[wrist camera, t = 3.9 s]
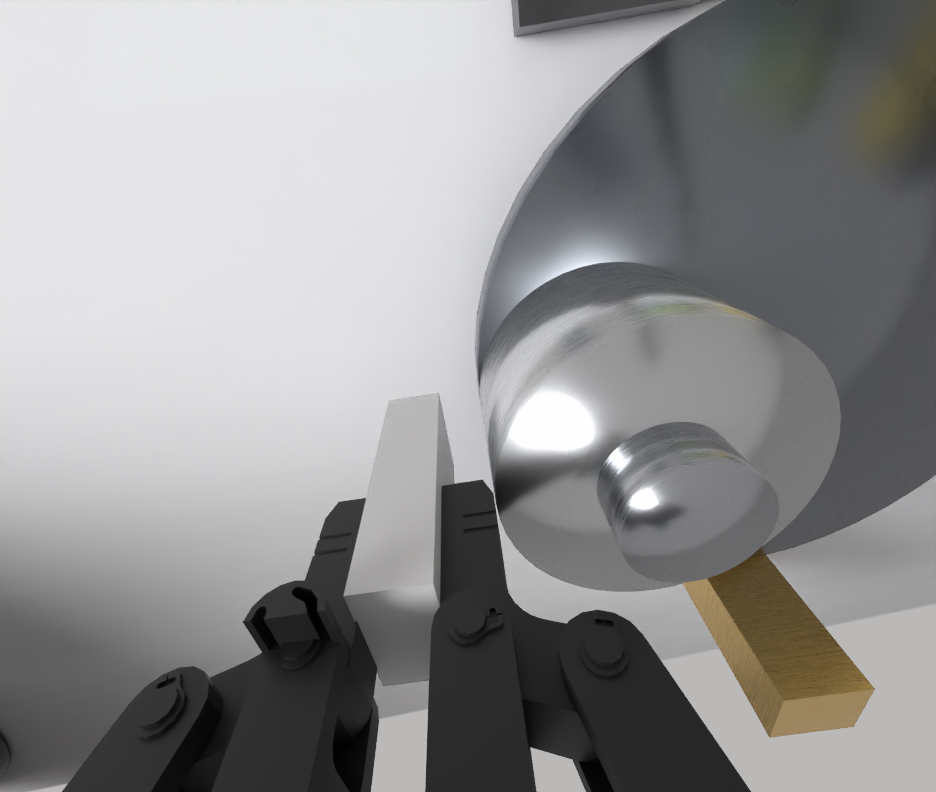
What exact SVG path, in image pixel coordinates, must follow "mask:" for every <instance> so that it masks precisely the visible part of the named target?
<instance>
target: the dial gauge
mask: <svg viewBox="0 0 936 792" xmlns="http://www.w3.org/2000/svg"><path fill="white" fill-rule="evenodd" d="M698 1H700V0H512V13H513V27H514V37H516V36H521V35H527V34H533V33H539V32H544V31H550V30H556V29H562V28H567V27H573V26H579V25H585V24H591V23H596V22H602V21H608V20H614V19H619V18H625V17H631V16H637V15H642V14H648V13H654V12H660V11H665V10H671V9H677V8H683V7H688V6H692V5H693V4H695V3H697V2H698Z"/></svg>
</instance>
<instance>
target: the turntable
mask: <svg viewBox="0 0 936 792" xmlns="http://www.w3.org/2000/svg"><path fill="white" fill-rule="evenodd" d="M607 262H633V263H639V264H644V265H649V266H652V267H655V268H658V269H661V270H664V271H666V272H668V273H670V274H672V275H674V276H676V277H678V278H680V279H682V280H684V281H686V282H688V283H690V284H692V285H694V286H696V287H698V288H700V289H702V290H704V291H706V292H708V293H709V294H711V295H713V296H715V297H717V298H719V299H721V300H723V301H725V302H727V303H729V304H731V305H733V306H735V307H737V308H739V309H741V310H743V311H745V312H747V313H749V314H751V315H753V316H755V317H757V318H759V319H761V320H763V321H765V322H767V323H769V324H771V325H773V326H775V327H777V328H779V329H780V330H782V331H784V332H786V333H788V334H790V335H791V336H793V337H795V338H797V339H798V340H800V341H801V342H802V343H803V344H805V345H806V346H807V347H808V348H809V349H811V350H812V351H813V352H814V353H815V354H816V356H817V357H818V358H819V359H820V360H821V362H822V363H823V364H824V365H825V366H826V368H827V370H828V372H829V374H830V376H831V378H832V380H833V381H834V384H835V387H836V391H837V394H838V398H839V403H840V414H841V423H840V435H839V440H838V444H837V448H836V452H835V455H834V458H833V460H832V463H831V465H830V468H829V470H828V473H827V474H826V476H825V478H824V480H823V481H822V483H821V485H820V487H819V489H818V490H817V491H816V493H815V494H814V496H813V497H812V498H811V500H810V501H809V503H808V504H807V505H806V506H805V507H804V509H803V510H802V511H801V512H800V513H799V514H798V515H797V516H796V518H795V519H794V520H793V521H792V522H791V523H790V524H788V525H787V526H786V527H785V528H784V529H783V530H782V531H781V532H780V533H779V534H777V535H776V536H775V537H774V538H772V539H771V540H770V541H768V542H767V543H766V544H765V545H763V546H762V547H760V548H759V549H758V550H757V551H756V552H755V553H754V554H753V555H751V556H750V557H749V558H748V559H746V560H745V561H743V562H742V563H740V564H739V565H737V566H735V567H733V568H732V569H730V570H728V571H725V572H723V573H721V574H718V575H716V576H713V577H710V578H706V579H702V580H698V581H692V582H686V583H683V585H684V586H685V588H686V590H687V592H688V593H689V595H690V597H691V599H692V601H693V602H694V604H695V606H696V608H697V609H698V611H699V613H700V615H701V617H702V618H703V620H704V622H705V624H706V625H707V627H708V629H709V631H710V633H711V634H712V636H713V638H714V640H715V641H716V643H717V645H718V647H719V649H720V650H721V652H722V654H723V656H724V657H725V659H726V661H727V663H728V664H729V666H730V668H731V670H732V672H733V673H734V675H735V677H736V679H737V680H738V682H739V684H740V686H741V688H742V689H743V691H744V693H745V695H746V696H747V698H748V700H749V702H750V704H751V705H752V707H753V709H754V711H755V712H756V714H757V716H758V718H759V720H760V721H761V723H762V725H763V727H764V728H765V730H766V732H767V734H768V736H769V737H777V736H785V735H792V734H800V733H808V732H816V731H824V730H831V729H839V728H847V727H854V725H855V723H856V721H857V719H858V718H859V716H860V714H861V713H862V711H863V709H864V707H865V705H866V704H867V702H868V700H869V698H870V697H871V695H872V693H873V691H874V690H875V689H874V688H873V686H872V685H871V684H870V683H869V681H868V680H867V679H866V678H865V676H864V675H863V674H862V673H861V672H860V670H859V669H858V668H857V667H856V665H855V664H854V663H853V662H852V660H851V659H850V658H849V657H848V656H847V654H846V653H845V652H844V651H843V649H842V648H841V647H840V646H839V645H838V643H837V642H836V641H835V640H834V638H833V637H832V636H831V635H830V633H829V632H828V631H827V630H826V628H825V627H824V626H823V625H822V624H821V622H820V621H819V620H818V619H817V617H816V616H815V615H814V614H813V612H812V611H811V610H810V609H809V608H808V606H807V605H806V604H805V603H804V601H803V600H802V599H801V598H800V596H799V595H798V594H797V593H796V592H795V590H794V589H793V588H792V587H791V585H790V584H789V583H788V582H787V580H786V579H785V578H784V577H783V576H782V574H781V573H780V572H779V571H778V569H777V568H776V567H775V566H774V564H773V563H772V562H771V561H770V560H769V558H768V557H767V556H766V555H767V554H770V553H774V552H778V551H782V550H785V549H789V548H793V547H796V546H799V545H801V544H804V543H807V542H810V541H813V540H816V539H819V538H822V537H824V536H827V535H829V534H831V533H834V532H836V531H838V530H840V529H843V528H845V527H847V526H850V525H852V524H854V523H856V522H858V521H860V520H862V519H864V518H866V517H868V516H870V515H872V514H874V513H876V512H877V511H879V510H881V509H883V508H885V507H887V506H889V505H890V504H892V503H894V502H895V501H897V500H898V499H900V498H902V497H903V496H905V495H907V494H908V493H910V492H911V491H913V490H915V489H916V488H918V487H919V486H921V485H922V484H923V483H925V482H926V481H928V480H929V479H930V478H932V477H933V476H935V475H936V0H725V1H723V2H722V3H720V4H718V5H716V6H715V7H713V8H711V9H709V10H708V11H706V12H704V13H702V14H701V15H699V16H697V17H696V18H694V19H692V20H690V21H689V22H687V23H685V24H684V25H682V26H680V27H679V28H677V29H675V30H673V31H672V32H670V33H668V34H667V35H665V36H663V37H662V38H660V39H659V40H658V41H656V42H655V43H654V44H653V45H651V46H650V47H649V48H647V49H646V50H645V51H643V52H642V53H641V54H640V55H638V56H637V57H636V58H634V59H633V60H632V61H630V62H629V63H628V64H626V65H625V66H624V67H623V68H621V69H620V70H619V71H617V72H616V73H615V74H614V75H613V76H612V77H611V78H610V79H609V80H608V81H607V82H606V83H605V84H604V85H603V86H602V87H601V88H600V89H599V90H598V91H597V92H596V93H595V94H594V95H593V96H592V97H591V98H590V99H589V100H588V101H587V102H586V103H585V104H584V105H583V106H582V107H581V108H579V109H578V111H577V112H576V113H575V114H574V115H573V117H572V118H571V119H570V120H569V122H568V123H567V124H566V125H565V127H564V128H563V129H562V130H561V132H560V133H559V134H558V135H557V136H556V138H555V139H554V140H553V141H552V143H551V144H550V145H549V146H548V148H547V149H546V150H545V151H544V153H543V155H542V156H541V158H540V159H539V161H538V162H537V164H536V166H535V167H534V169H533V170H532V172H531V173H530V175H529V177H528V178H527V180H526V181H525V183H524V185H523V186H522V188H521V189H520V191H519V192H518V194H517V197H516V199H515V201H514V203H513V205H512V207H511V209H510V211H509V213H508V215H507V217H506V219H505V222H504V224H503V226H502V228H501V230H500V232H499V234H498V237H497V240H496V243H495V246H494V249H493V252H492V255H491V258H490V261H489V264H488V267H487V270H486V273H485V276H484V281H483V286H482V291H481V296H480V301H479V306H478V311H477V324H476V340H475V356H476V369H477V382H478V388H479V387H480V374H481V369H482V364H483V360H484V357H485V354H486V351H487V349H488V346H489V344H490V342H491V340H492V338H493V336H494V334H495V332H496V330H497V329H498V327H499V326H500V325H501V323H502V322H503V320H504V319H505V318H506V316H507V315H508V314H509V313H510V312H511V311H512V310H513V308H514V307H515V306H516V305H517V304H518V303H519V302H520V301H522V300H523V299H524V298H525V297H526V296H527V295H529V294H530V293H531V292H532V291H534V290H535V289H537V288H538V287H540V286H541V285H543V284H544V283H546V282H547V281H549V280H551V279H553V278H555V277H557V276H559V275H561V274H563V273H566V272H569V271H571V270H574V269H577V268H580V267H584V266H588V265H593V264H597V263H607ZM479 395H480V388H479Z"/></svg>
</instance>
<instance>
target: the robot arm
mask: <svg viewBox="0 0 936 792" xmlns="http://www.w3.org/2000/svg"><path fill="white" fill-rule="evenodd" d="M314 553H315V556H313V558H312V561H311V564H310V567H309V570H308V573H307V576H306V579H305V581H293V582H290V583H286V584H283V585H280V586H279V587H277V588H275V589H274V590H272V591H270V592H269V593H267V594H265V595H264V596H263V597H262V598H261V599H260V600H259V601H258V602H257V603H256V604H255V605H254V606H253V607H252V608H251V610H250V612H249V613H248V615H247V616H246V618H245V620H244V621H243V623H244V624H245V626H246V628H247V629H248V631H249V632H250V634H251V635H252V637H253V638H254V640H255V642H256V643H257V645H258V646H259V648H260V649H261V651H262V653H261V654H260V655H258V656H256V657H254V658H252V659H250V660H249V661H247V662H244V663H242V664H240V665H238V666H235V667H233V668H231V669H229V670H226V671H224V672H222V673H220V674H217V675H215V676H213V677H211V678H209V677H208V676H207V674H206V673H205V672H204V671H202V670H200V669H198V668H196V667H194V666H193V667H182V668H177V669H175V670H173V671H171V672H168V673H166V674H164V675H162V676H160V677H159V678H158V679H156V680H155V681H153V682H152V683H151V684H149V685H148V686H147V687H145V688H144V689H143V690H142V691H141V692H140V693H139V694H138V696H137V697H136V698H135V699H134V700H133V701H132V702H131V703H130V704H129V705H128V707H127V708H126V709H125V710H124V712H123V713H122V714H121V716H120V717H119V718H118V720H117V721H116V722H115V723H114V725H113V726H112V727H111V729H110V730H109V731H108V733H107V734H106V735H105V737H104V738H103V739H102V740H101V742H100V743H99V744H98V746H97V747H96V748H95V750H94V751H93V752H92V753H91V755H90V756H89V757H88V759H87V760H86V761H85V763H84V764H83V765H82V766H81V768H80V769H79V770H78V772H77V773H76V774H75V776H74V777H73V778H72V779H71V781H70V782H69V783H68V785H67V786H66V787H65V789H64V790H63V791H62V792H371V785H372V776H373V767H374V758H375V750H376V742H377V733H378V724H379V716H378V707H377V705H376V702H375V700H374V698H373V696H374V688H375V681H376V674H377V673H378V676H379V678H380V680H381V682H382V685H383V686H388V685H396V684H404V683H411V682H419V681H427V680H429V703H428V733H427V762H426V791H425V792H536V786H535V778H534V771H533V764H532V757H531V750H530V747H532V748H535V749H539V750H543V751H546V752H550V753H553V754H556V755H559V756H563V757H566V758H569V759H573V762H574V764H575V766H576V769H577V771H578V774H579V776H580V778H581V781H582V783H583V785H584V788H585V790H586V792H751V791H750V790H749V788H748V787H747V785H746V784H745V782H744V781H743V779H742V778H741V777H740V775H739V774H738V772H737V771H736V769H735V768H734V766H733V765H732V763H731V762H730V761H729V759H728V758H727V756H726V755H725V753H724V752H723V750H722V749H721V747H720V746H719V745H718V743H717V742H716V740H715V739H714V737H713V736H712V734H711V733H710V731H709V730H708V729H707V727H706V726H705V724H704V723H703V721H702V720H701V718H700V717H699V715H698V714H697V713H696V711H695V710H694V708H693V707H692V705H691V704H690V702H689V701H688V699H687V698H686V697H685V695H684V694H683V692H682V691H681V689H680V688H679V687H678V685H677V683H676V682H675V681H674V679H673V678H672V676H671V675H670V673H669V672H668V670H667V669H666V667H665V666H664V665H663V663H662V662H661V660H660V659H659V657H658V656H657V654H656V653H655V651H654V650H653V649H652V647H651V646H650V644H649V643H648V641H647V640H646V638H645V637H644V635H643V634H642V633H641V632H640V631H639V630H638V629H637V628H636V627H635V626H634V625H633V624H632V623H631V622H630V621H628V620H626V619H625V618H623V617H621V616H619V615H617V614H615V613H612V612H606V611H601V610H594V611H588V612H583V613H580V614H579V615H577V616H576V617H574V618H573V619H571V620H570V621H569V622H568V623H567V624H565V623H560V622H555V621H549V620H544V619H541V618H538V617H535V616H532V615H530V614H529V613H527V612H525V611H523V610H522V609H521V608H520V607H519V606H518V605H517V604H516V603H515V602H514V601H513V599H512V598H511V596H510V594H509V593H508V589H507V583H506V576H505V569H504V562H503V555H502V548H501V541H500V534H499V528H498V522H497V515H496V509H495V502H494V496H493V493H492V491H491V490H490V489H489V487H488V486H487V485H486V484H485V482H484V481H483V480H478V481H471V482H464V483H457V484H454V465H453V460H452V455H451V450H450V445H449V441H448V436H447V431H446V426H445V421H444V416H443V411H442V406H441V402H440V397H439V393H436V394H429V395H423V396H416V397H410V398H403V399H396V400H390V401H389V403H388V407H387V411H386V416H385V420H384V424H383V428H382V433H381V437H380V441H379V446H378V450H377V454H376V458H375V463H374V467H373V471H372V476H371V480H370V484H369V489H368V493H367V497H366V498H363V499H356V500H349V501H342V502H339V503H338V504H337V505H336V506H335V508H334V509H333V510H332V511H331V512H330V514H329V515H328V516H327V517H326V519H325V522H324V525H323V528H322V531H321V534H320V540H318V543H317V546H316V549H315V552H314ZM9 761H10V756H9V751H8V749H7V746H6V745H5V743H4V741H3V740H2V739H1V738H0V777H1V776H2V775H3V773H4V772H5V770H6V769H7V767H8V765H9Z"/></svg>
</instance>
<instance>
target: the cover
mask: <svg viewBox="0 0 936 792" xmlns="http://www.w3.org/2000/svg"><path fill="white" fill-rule="evenodd" d="M479 388H480V401H481V408H482V414H483V421H484V427H485V434H486V440H487V447H488V453H489V460H490V466H491V473H492V479H493V486H494V492H495V499H496V505H497V509H498V513H499V517H500V520H501V523H502V525H503V527H504V530H505V532H506V534H507V536H508V537H509V539H510V540H511V542H512V543H513V545H514V546H515V547H516V548H517V550H518V551H519V552H520V553H521V554H522V555H523V556H524V557H525V558H526V559H527V560H528V561H530V562H531V563H532V564H533V565H535V566H536V567H537V568H539V569H541V570H542V571H544V572H546V573H547V574H549V575H551V576H553V577H555V578H558V579H560V580H562V581H565V582H567V583H571V584H574V585H577V586H581V587H585V588H591V589H596V590H605V591H643V590H654V589H659V588H665V587H670V586H675V585H678V584H682V583H686V582H692V581H698V580H702V579H706V578H710V577H713V576H716V575H718V574H721V573H723V572H725V571H728V570H730V569H732V568H733V567H735V566H737V565H739V564H740V563H742V562H743V561H745V560H746V559H748V558H749V557H750V556H751V555H753V554H754V553H755V552H756V551H757V550H758V549H759V548H760V547H762V546H763V545H765V544H766V543H767V542H768V541H770V540H771V539H772V538H774V537H775V536H776V535H777V534H779V533H780V532H781V531H782V530H783V529H784V528H785V527H786V526H787V525H788V524H790V523H791V522H792V521H793V520H794V519H795V518H796V516H797V515H798V514H799V513H800V512H801V511H802V510H803V509H804V507H805V506H806V505H807V504H808V503H809V501H810V500H811V498H812V497H813V496H814V494H815V493H816V491H817V490H818V489H819V487H820V485H821V483H822V481H823V480H824V478H825V476H826V474H827V473H828V470H829V468H830V465H831V463H832V460H833V458H834V455H835V452H836V448H837V444H838V440H839V435H840V423H841V414H840V403H839V398H838V394H837V391H836V387H835V384H834V381H833V380H832V378H831V376H830V374H829V372H828V370H827V368H826V366H825V365H824V364H823V363H822V362H821V360H820V359H819V358H818V357H817V356H816V354H815V353H814V352H813V351H812V350H811V349H809V348H808V347H807V346H806V345H805V344H803V343H802V342H801V341H800V340H798V339H797V338H795V337H793V336H791V335H790V334H788V333H786V332H784V331H782V330H780V329H779V328H777V327H775V326H773V325H771V324H769V323H767V322H765V321H763V320H761V319H759V318H757V317H755V316H753V315H751V314H749V313H747V312H745V311H743V310H741V309H739V308H737V307H735V306H733V305H731V304H729V303H727V302H725V301H723V300H721V299H719V298H717V297H715V296H713V295H711V294H709V293H708V292H706V291H704V290H702V289H700V288H698V287H696V286H694V285H692V284H690V283H688V282H686V281H684V280H682V279H680V278H678V277H676V276H674V275H672V274H670V273H668V272H666V271H664V270H661V269H658V268H655V267H652V266H649V265H644V264H639V263H633V262H607V263H597V264H593V265H588V266H584V267H580V268H577V269H574V270H571V271H569V272H566V273H563V274H561V275H559V276H557V277H555V278H553V279H551V280H549V281H547V282H546V283H544V284H543V285H541V286H540V287H538V288H537V289H535V290H534V291H532V292H531V293H530V294H529V295H527V296H526V297H525V298H524V299H523V300H522V301H520V302H519V303H518V304H517V305H516V306H515V307H514V308H513V310H512V311H511V312H510V313H509V314H508V315H507V316H506V318H505V319H504V320H503V322H502V323H501V325H500V326H499V327H498V329H497V330H496V332H495V334H494V336H493V338H492V340H491V342H490V344H489V346H488V349H487V351H486V354H485V357H484V360H483V364H482V369H481V374H480V387H479Z"/></svg>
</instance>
